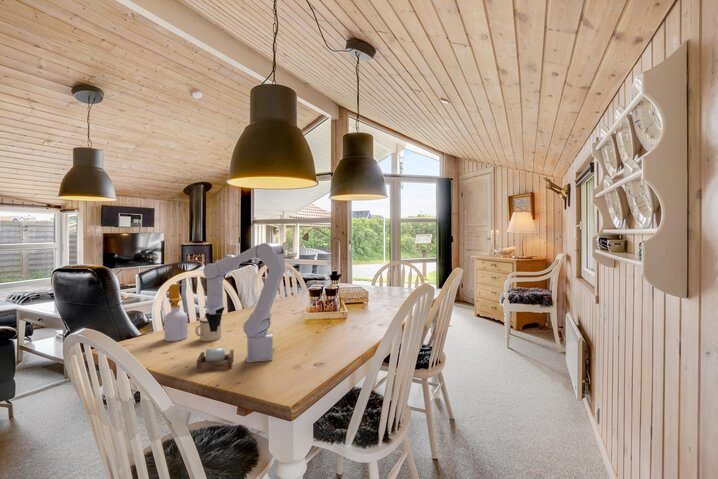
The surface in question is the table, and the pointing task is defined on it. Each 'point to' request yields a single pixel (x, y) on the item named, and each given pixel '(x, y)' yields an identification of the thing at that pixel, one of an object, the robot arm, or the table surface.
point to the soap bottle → (175, 318)
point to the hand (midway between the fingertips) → (215, 328)
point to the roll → (215, 355)
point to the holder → (215, 363)
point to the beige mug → (207, 331)
